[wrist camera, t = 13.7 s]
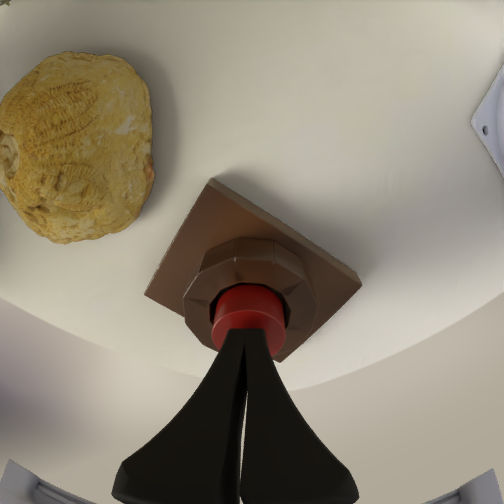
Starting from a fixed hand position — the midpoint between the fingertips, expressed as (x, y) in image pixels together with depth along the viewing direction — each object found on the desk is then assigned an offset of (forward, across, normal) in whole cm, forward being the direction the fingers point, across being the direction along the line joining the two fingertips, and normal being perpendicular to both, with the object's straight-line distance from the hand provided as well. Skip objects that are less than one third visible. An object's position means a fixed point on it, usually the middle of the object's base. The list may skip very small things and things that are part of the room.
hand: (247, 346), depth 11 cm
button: (+2, 0, 0) cm, 2 cm away
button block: (+5, 0, 0) cm, 5 cm away
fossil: (+5, +10, -8) cm, 13 cm away
